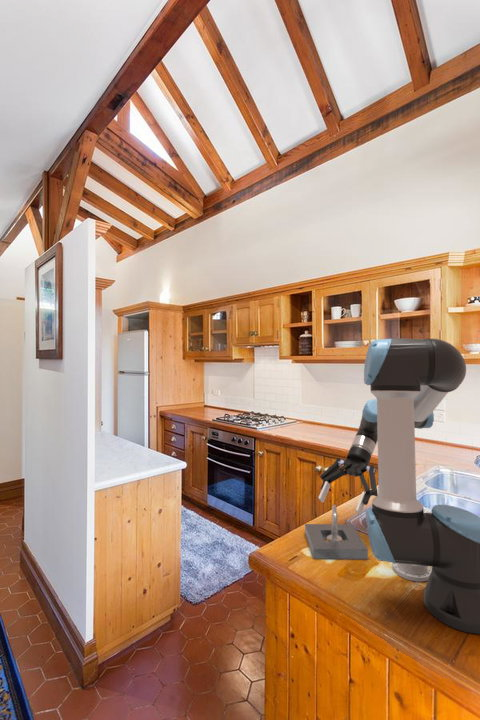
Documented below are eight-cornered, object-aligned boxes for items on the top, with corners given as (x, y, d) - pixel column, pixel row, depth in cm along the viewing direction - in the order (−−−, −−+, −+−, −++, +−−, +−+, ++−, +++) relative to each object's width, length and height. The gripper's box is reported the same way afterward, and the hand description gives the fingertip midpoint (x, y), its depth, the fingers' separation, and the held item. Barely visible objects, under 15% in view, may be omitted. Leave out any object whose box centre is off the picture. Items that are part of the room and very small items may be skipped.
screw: (344, 544, 117) (339, 550, 113) (329, 539, 120) (324, 546, 116) (344, 503, 117) (339, 508, 113) (329, 500, 120) (324, 505, 116)
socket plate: (367, 559, 109) (367, 549, 109) (313, 558, 109) (313, 548, 109) (352, 533, 125) (352, 524, 125) (304, 532, 125) (304, 524, 125)
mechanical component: (400, 557, 110) (386, 572, 103) (400, 543, 110) (386, 556, 103) (436, 571, 103) (424, 587, 96) (436, 555, 103) (424, 571, 96)
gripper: (399, 464, 123) (379, 524, 112) (333, 451, 140) (311, 501, 130) (393, 452, 119) (371, 512, 109) (326, 439, 137) (302, 490, 126)
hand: (338, 506), depth 119 cm, fingers open, 13 cm apart
